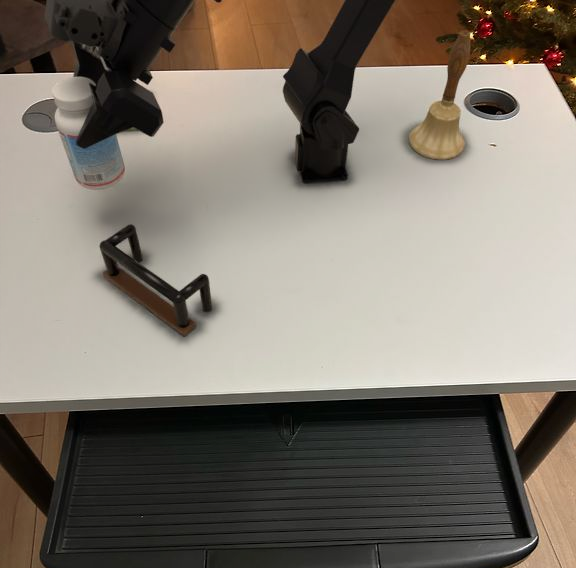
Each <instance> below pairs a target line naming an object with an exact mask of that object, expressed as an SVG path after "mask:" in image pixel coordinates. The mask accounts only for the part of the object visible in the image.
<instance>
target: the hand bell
mask: <svg viewBox="0 0 576 568" xmlns="http://www.w3.org/2000/svg"><path fill="white" fill-rule="evenodd" d="M448 55H449V56H448V60H447V68H446V70H447V72H446V73H447V79H446V85H445V87H444V90H443V94H442V98H441V100H437V101H434V102H432V103H431V104H430V106H429V108H428V111H427V114H426V116H425V118H424V120H423V121H422V123H420V124H418V125H417V126H415V127H414V128H413V129H412V130H411V131H410V133H409V135H408V143H409V145H410V147H411V149H413V151H415V152H416V153H417V154H418V155H421V156H423V157H425V158H428V159H431V160H441V161H443V160H445V161H446V160H451V159H454V158H457V157H458V156H459V155H461V154H462V153H463V152H464V150H465V147H466V143H465V138H464V136H463V134H462V132H461V131H460V120H461V113H462V112H461V111H462V110H461V108H460V107H459V106H458V105H457V104H456V103H455V99H456V94H457V90H458V85H459V83H460V81H461V78H462V76H463V75H464V72H465V71H466V69H467V67H468V63H469V61H470V57H471V32H470V31H468V30H461V31H460V32H459V34H458V36H457V38H456V40H455V42H454V43H453V46H452V47H451V49H450V51H449V54H448Z"/></svg>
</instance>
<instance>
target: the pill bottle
mask: <svg viewBox="0 0 576 568" xmlns="http://www.w3.org/2000/svg"><path fill="white" fill-rule="evenodd" d="M89 83H91V84H93V85H94V86H96V84H95V83H94V82H93V81H92V80H91V79H89V78H85V77H73V76H72V77H70V76H69V77H66V78H63V79H61V80H60V81H58V82H57V83H55V84H54V86H53V87H52V89H51V90H52V96H53V100H54V104H55V106H56V107H57V108H56V110H55V112H54V122H55V125H56V128H57V131H58V134H59V137H60V140H61V142H62V145H63V148H64V151H65V154H66V157H67V159H68V163H69V166H70V168H71V172H72V173H73V177H74V179H75V181H76V182H77V184H78V185H79V186H81V187H82V188H84V189H86V190H90V191H104V190H109V189H111V188H113V187H115V186H117V185H118V184H120V182H121V180H123V178H124V176H125V174H126V166H125V162H124V158H123V155H122V151H121V147H120V144H119V140H118V136H117V134H115V135H113V136H111V137H109V138H107V139H104V140H102V141H100V142H98V143H96V144H94V145H92V146H90V147H88V148H86V149H83V148H81V147H79V146H77V145H76V140H77V137H78V135H79V132H80V130H81V128H82V126H83V124H84V121H85V119H86V117H87V115H88V113H89V111H90V109H91V106H92V104H93V98H92V95H91V91H90V87H89Z"/></svg>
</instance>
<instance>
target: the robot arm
mask: <svg viewBox="0 0 576 568" xmlns="http://www.w3.org/2000/svg"><path fill="white" fill-rule="evenodd" d="M195 1H196V0H46V6H45V11H44V20H45V22H46V23H47V26H48V32H49V34H50V35H51V36H52V37H53V38H55V39H57V40H58V41H63V42H66V43H67V42H69V41H71V45H72V47H73V51H74V53H75V58H76V62H75V67H74V72H73V75H72V77H85V78H89V79H91V80H92V81H93V82H94V83H95V84H96V86H94V85H93V84H91V83H89V87H90V91H91V95H92V98H93V104H92V106H91V109H90V111H89V113H88V115H87V117H86V119H85V121H84V124H83V126H82V128H81V130H80V132H79V135H78V137H77V140H76V145H77V146H79V147H81V148H83V149H86V148H88V147H90V146H92V145H94V144H96V143H98V142H100V141H102V140H104V139H107V138H109V137H111V136H113V135H115V134H116V135H117V134H121V133H122V132H126V131H125V130H128V129H130V128H133V127H134V128H136V129H138V130H137V131H139V132H141V133H142V134H145V135H146V136H148V137H150V138H153V137H155V136H156V134H157V133H158V131H159V130H160V128H161V127H162V126H163V125H164V123H165V122H164V117H163V115H164V114H163V111H162V109H161V107H160V104H159V103H158V100H157V98H156V96H155V94H154V92H152V91H151V90H149V89H148V88H146V87H145V86H143V85H141V84H140V83H138V82H137V80H139V81H140V82H141V83H143V84H145V85H146V86H148V85H149V84H150V83H151V81H152V80H153V78H154V77H153V75H152V73H151V71H150V68H151V67H152V65H153V64H154V63H155V61H156V59H157V58H158V56H159V55H160V53H161V52H162V51H163V50H165V51H167V52H168V53H169V54H170V53H171V52H172V51H173V49H174V48H175V46H176V43H175V41H174V40H173V38H172V35H173V34H174V33H175V32H176V29H177V28H178V26H179V25H180V24H181V23H182V21H183V19H184V18H185V16H186V15H187V13H188V12H189V11H190V9H191V8H192V6H193V4H194V3H195ZM222 1H223V0H214V2H215V3H217V4H219V3H221V2H222ZM395 2H396V0H344V2H343V3H342V5H341V8H340V9H339V11H338V13H337V15H336V17H335V19H334V20H333V22H332V24H331V26H330V28H329V30H328V31H327V33H326V35H325V37H324V38H323V40H322V41H321V43H320V44H319V45H318V46H316V47H315V48H313V49H312V50H310V51H309V52H307V51H306V50H304V49H303V48H298V50H297V51H296V53H295V54H294V58H293V60H292V63H291V66H289V68H288V69H287V71H286V72H285V73H284V74H283V75H282V78H283V79H284V84H283V87H282V94H283V99H284V102H285V104H286V105H287V106H288V109H290V111H291V112H292V114H293V115H294V117H295V119H296V120H297V121H298V123H299V133H297V134H296V135H295V143H294V162H295V167H296V171H297V172H299V174H300V178H301V182H302V183H304V184H311V183H312V184H313V183H324V182H325V183H327V182H340V181H341V182H342V181H347V180H348V179H349V174H348V170H347V158H348V152H349V151H348V150H349V144H353V143H355V141H356V138H357V136H358V134H359V132H360V127H359V126H358V124H356V122H355V120H354V119H353V118H352V117H351V116H350V114H349V113H348V112H347V107H348V105H349V103H350V101H351V98H352V93H353V86H354V81H355V80H354V79H355V73H356V68H357V66H358V64H359V63H360V61H361V59H362V58H363V56H364V54H365V53H366V50H367V49H368V48H369V46H370V45H371V42H372V40H373V38H374V37H375V36H376V34H377V33H378V30H379V29H380V27H381V25H382V23H383V22H384V20H385V18H386V17H387V15H388V13H389V12H390V10H391V8H392V7H393V5H394V3H395Z"/></svg>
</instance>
